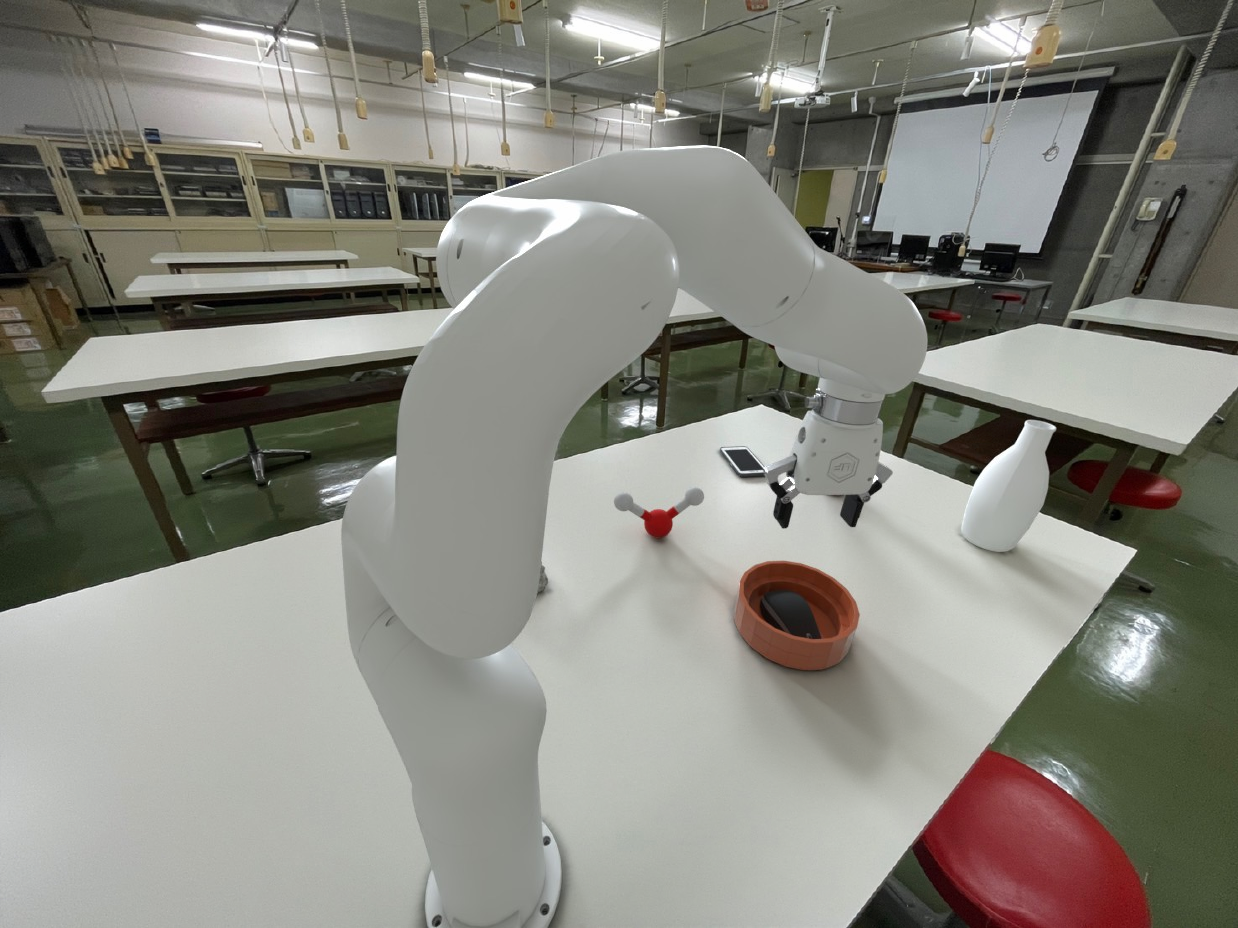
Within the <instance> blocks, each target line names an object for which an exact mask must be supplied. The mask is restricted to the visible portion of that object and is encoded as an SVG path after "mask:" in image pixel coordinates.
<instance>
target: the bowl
mask: <svg viewBox="0 0 1238 928" xmlns="http://www.w3.org/2000/svg"><path fill="white" fill-rule="evenodd" d="M737 586H738V587H737V592H736V596H735V597H736V598H735V602H734V607H733V620H734V623H735V626H736V627H737V630H738V633H739V634H740V636H741V637H742V639H744V641H745V642H746V643H747V644H748V646H749V647H751V648H752V649H753V650H755V651H756V652H757V653H758V654H760V655H761V656H762V657H764V658H765V659H768V660H769V661H771V662H773V663H777V664H778V665H781V666H784V667H787V668H790V669H791V668H792V669H797V670H801V671H816V670H817V671H818V670H820V671H821V670H827V669H828V668H831V667H833V666H835V665H838V664H840V662H842V660H843V659H844V658H845V657H846V656H847V655H848V653H849V651H850V648H851V645H852V644H853V643H852V642H853V640H854V637H855V635H856V631H857V629H858V627H859V626H858V625H859V621H860V616H861V613H860V610H859V607H858V603H857V601H856V599H855V598H854V597H853V595H852V594H851V593H850V591H849V590H848V589H847V587H845V586H844V585H843V584H842V583H841V582H839V581H838V580H837V579H836V578H835V577H833V576H831V575H829V574H828V573H826V572H824V571H822V570H820V569H818V568H816V567H813V566H811V565H807V564H804V563H801V562H796V561H790V560H766V561H764V562H761V563H760V562H759V563H757V564H754V565H752V566H751V567H750V568H748V569H747V570H745V571H744V572H743V574H742V576H741V578H740V580H739V582H738V585H737ZM776 590H790V591H793V592H796V593H797V594H799V595H801V596H802V597H803V598H804V599H805V600H806V601H807V603H808V604H809V606H810V608H811V610H812V613H813V615H814V618H815V620H816V623H817V626H818V629H819V632H820V635H821V638H822V639H808V638H803V637H798V636H793V635H790V634H788V633H786V632H783V631H781V630H778V629H776V628H774V627H773V626H771V625H770V624H768V623H767V622H766V621H765V619H764V618H763V615H762V613H761V609H760V601H761V598H762V597H763V595H764V594H766V593H768V592H771V591H776Z"/></svg>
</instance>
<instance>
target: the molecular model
mask: <svg viewBox="0 0 1238 928" xmlns="http://www.w3.org/2000/svg"><path fill="white" fill-rule="evenodd" d="M704 499H705V494H704V491H703V490H702V488H700V487H698V486H692V487H689V488H688V489H687V490H686V491H685V494H684V497H683V498H682V499H681V500H680V501H678V502H677V503H676V504H675V505H673V506H672V507H670V508H669V509H668V510H665V509H661V508H656V509H652V510H651V511H648V510H647V509H646V508H644V507H642V506H640V505H639V504H637V503H635V502H634V498H633V496H632V495H631V493H628V492H627V491H621V492H619V493H617V494H616V495H615V496H614V499H613V504H614V507H615V508H616V509H617V511H620V512H631V513H632V514H634V515H635V516H637V517H638V518H640V519H641V520H643V525H644V526H643V527H644V529H645V532H647V534H648V535H649V536H651V537H653V538H656V539H657V538H658V539H660V538H664V537H667V536H668V535H669V534H670V533H671V532H672V529H673V526H674V525H673V524H674V522H673V519H674V518H675V517H677V516H678V515H680V514H681V513H683V512H684V511H686V509H688V508H689V507H690V506H693V507H697V506H699V505H701V504H702V503H703V502H704Z"/></svg>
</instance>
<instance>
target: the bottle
mask: <svg viewBox="0 0 1238 928" xmlns="http://www.w3.org/2000/svg"><path fill="white" fill-rule="evenodd" d="M1056 431H1057V427H1056V425H1053V424H1052V423H1049V422H1047V421H1042V420H1037V419H1027V420H1025V421H1024V426H1023V428H1022V430H1021V432H1020V433H1019V435H1018V437H1017V440H1016V441H1015V442H1014V444H1012V445H1011V446H1010V447H1008V448H1007V449H1006V450H1003V451H1002V452H1001V453H999V454H998V455H996V456H995V457H994V458H993V459H992V460H991V461H990V462H989V463H988V464H987V465H986V466H985V467H984V468H983V469H982V471H981V472H980V474H979V476H978V477H977V479H975V482H974V484H973V487H972V490H971V492H970V495H969V498H968V500H967V503H966V506H965V510H964V514H963V518H962V522H961V527H960V530H961V531H960V532H961V533H962V536H963V537H964V538H965V539H966V540H967V541H968V542H969V543H971V544H972V545H975V546H976V547H978V548H980V549H984V550H987V551H990V552H994V553H1004V552H1005V553H1006V552H1009V551H1011V550H1013V549H1014V548H1015V547H1016V546H1017V544H1018V543H1019V542H1020V541H1021V539H1022V538H1023V537H1024V536H1025V535H1026V534H1027V532H1028V531H1029V529H1030V528H1031V526H1032V525H1033V523H1034V522H1035V520H1036V518H1037V517H1038V515H1039V513H1040V511H1041V510H1042V508H1043V506H1044V504H1045V501H1046V497H1047V495H1048V494H1047V493H1048V490H1049V479H1050V470H1049V469H1050V468H1049V464H1048V461H1047V456H1046V451H1047V449H1048V446H1049V444H1050V442H1051V439H1052V437H1053V434H1054V433H1055V432H1056Z"/></svg>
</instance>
